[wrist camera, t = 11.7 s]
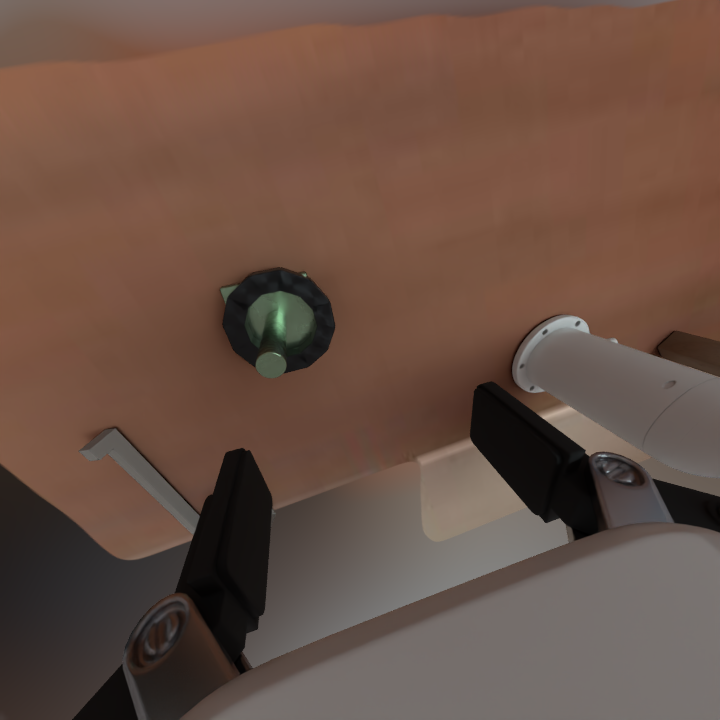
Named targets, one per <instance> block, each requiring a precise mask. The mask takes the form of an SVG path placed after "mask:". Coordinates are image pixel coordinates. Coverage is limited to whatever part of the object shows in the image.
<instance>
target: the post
mask: <svg viewBox="0 0 720 720" xmlns="http://www.w3.org/2000/svg"><path fill="white" fill-rule="evenodd" d="M300 274H303V275H306V276H307V274H306V272H300ZM239 284H240V283H239ZM239 284H233V285H228V286H222V287H221V288H220V291H221V294H222V296H223V299H224V301H225V304H226V301H227V297H228V296H229V294H230V293H231V292H232V291H233V290H234V289H235V288H236V287H237V286H238V285H239ZM247 321H248V324H249V327H250V329H251V332H252V334H253V336H254V337H255V338H256V339H257V340H259V341H260V346H259V350H258V355H257V359H256V364H255V366H256V369H257V371H258V372H259V374H261V375H262V376H264V377H266V378H276V377H279V376H281V375H282V374H283V373H284V372H285V370H286V367H287V350H288V349H292V348H296V347H299V346H301V345H302V344H303V343H304V342H305V341H306V340H307V339H308V338H309V337H311V334H312V331H313V327H314V324H315V318H314V314H313V310H312V309H311V308H310V307H309V306H308V305H307V304H306V303H305V302H304V301H303V300H302V299H301V297H299V296H296V295H292V294H289V293H286V292H282V291H279V292H274V293H269V294H265V295H261V296H260V297H259V298H258V299H257V300H256V301H255V302H254V303H253V304H252V305H251V306H250V308H249V313H248V318H247ZM249 364H250V363H249Z"/></svg>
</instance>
